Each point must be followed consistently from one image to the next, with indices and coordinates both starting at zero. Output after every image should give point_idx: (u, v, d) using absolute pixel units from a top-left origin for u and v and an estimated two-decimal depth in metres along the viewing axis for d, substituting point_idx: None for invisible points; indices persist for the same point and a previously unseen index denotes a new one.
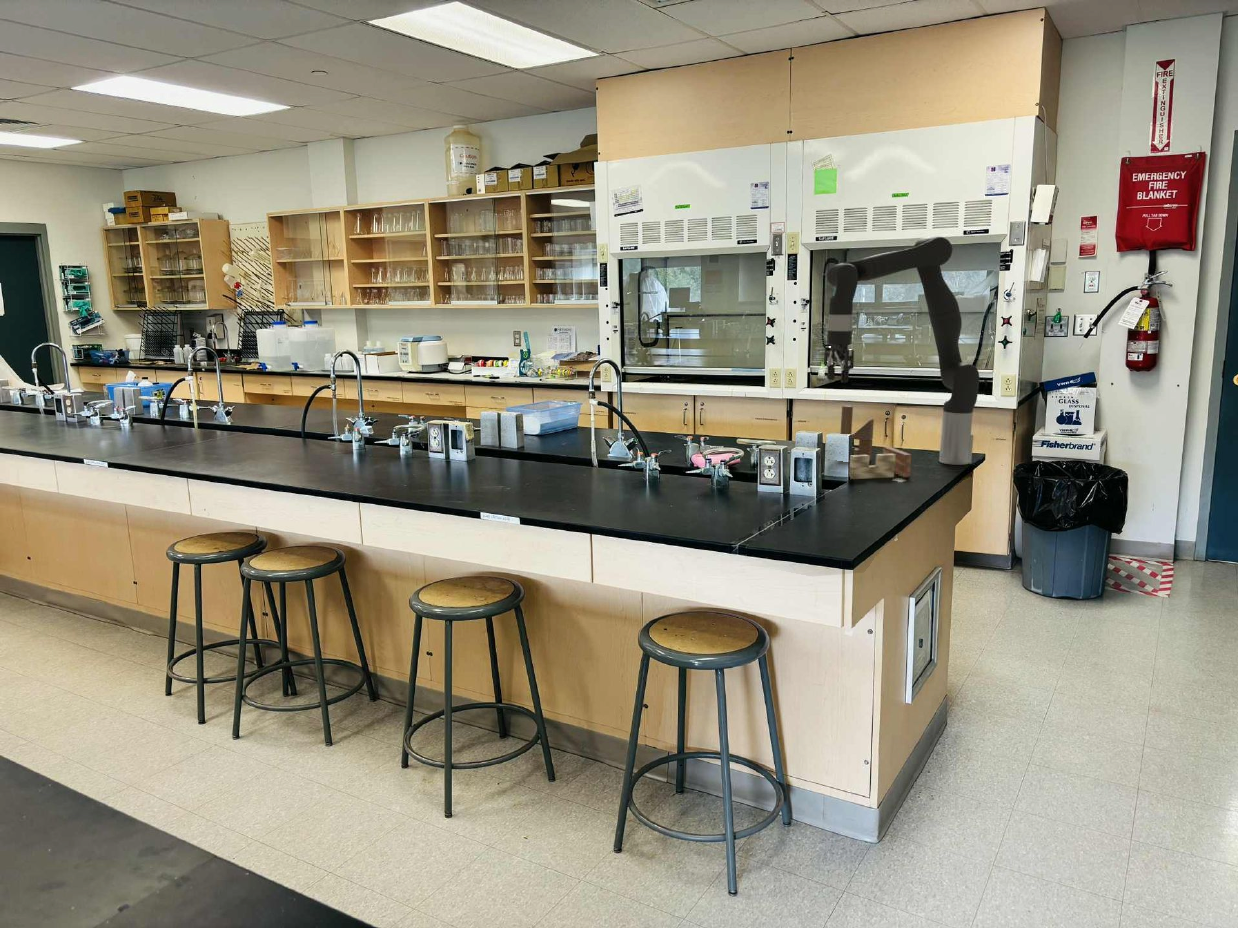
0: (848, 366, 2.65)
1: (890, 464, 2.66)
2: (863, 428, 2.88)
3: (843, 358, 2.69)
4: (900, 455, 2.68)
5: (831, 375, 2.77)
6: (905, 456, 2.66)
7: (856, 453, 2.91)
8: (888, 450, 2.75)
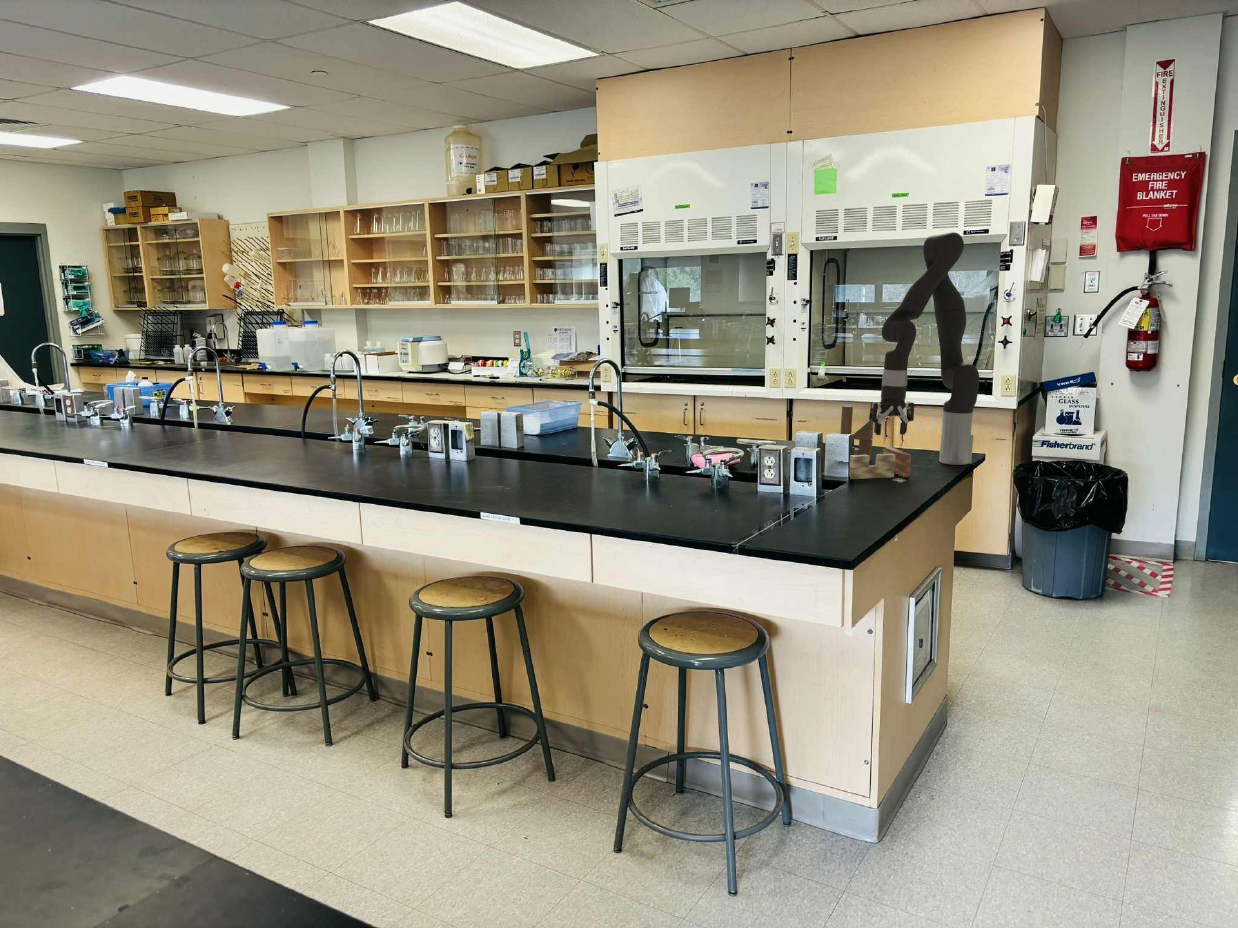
0: None
1: (890, 464, 2.66)
2: (863, 428, 2.88)
3: None
4: (900, 455, 2.68)
5: None
6: (905, 456, 2.66)
7: (856, 453, 2.91)
8: (888, 450, 2.75)
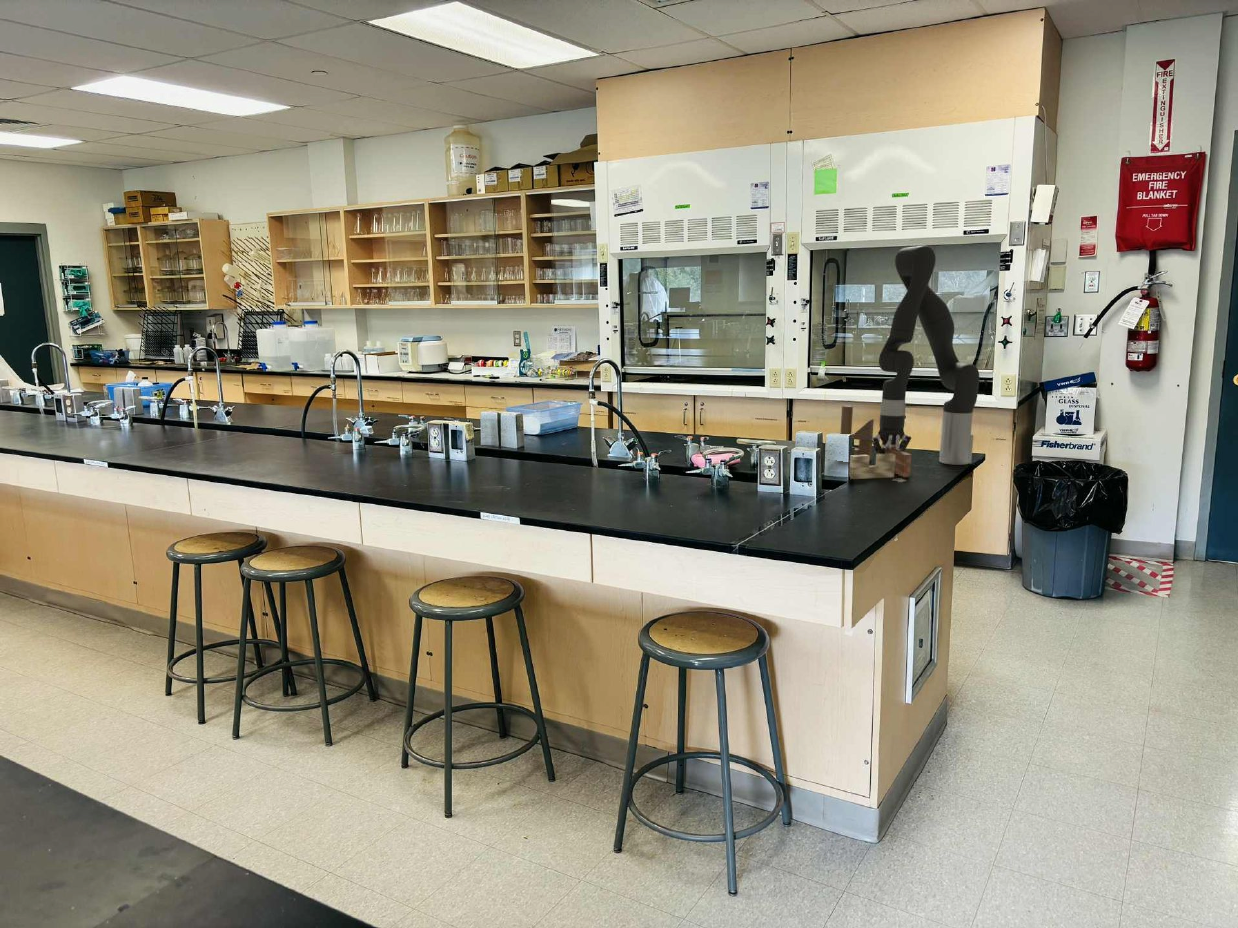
0: None
1: (890, 464, 2.66)
2: (863, 428, 2.88)
3: None
4: (900, 455, 2.68)
5: None
6: (905, 456, 2.66)
7: (856, 453, 2.91)
8: None
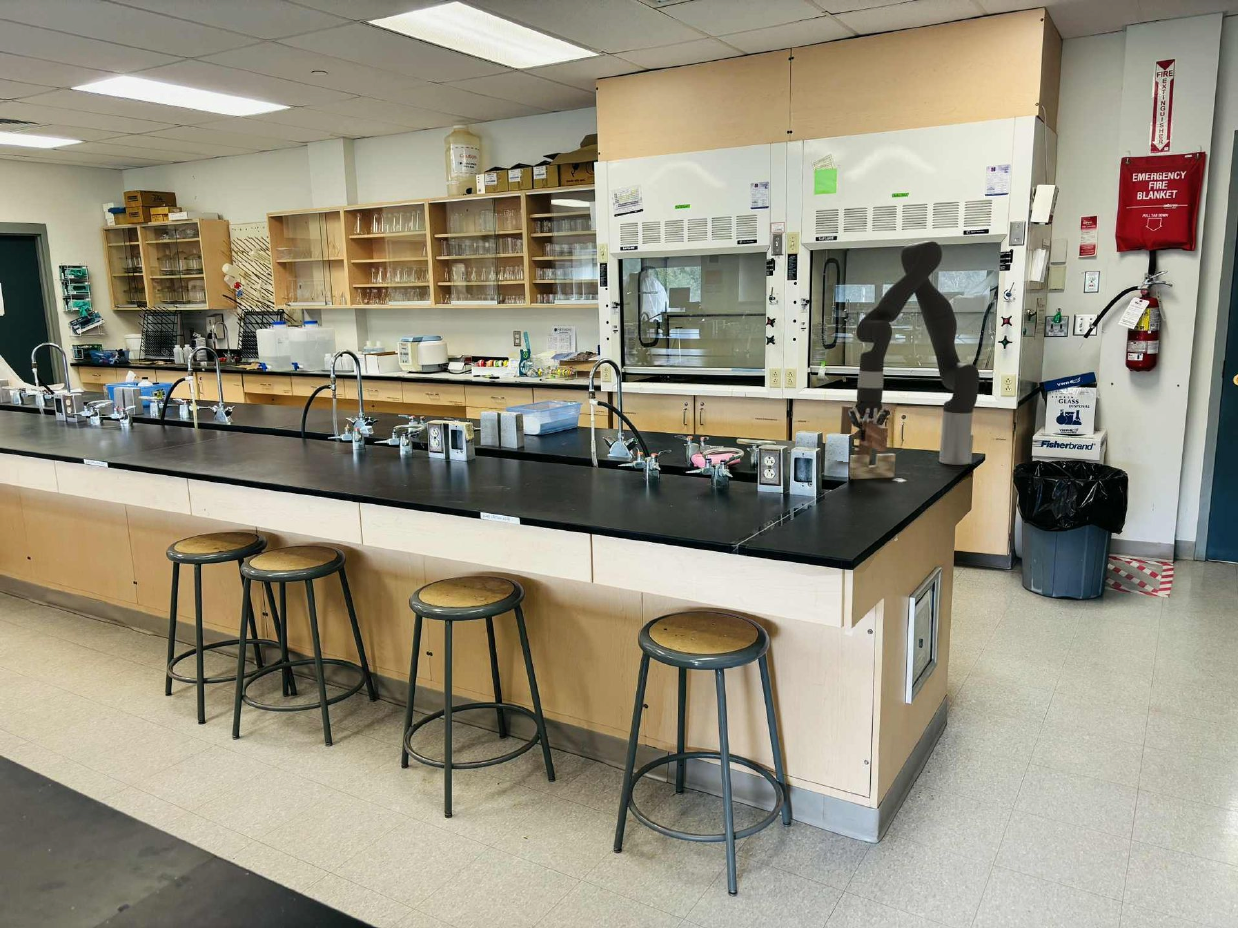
0: None
1: (890, 464, 2.66)
2: None
3: None
4: (877, 429, 2.59)
5: None
6: (882, 429, 2.57)
7: (856, 453, 2.91)
8: None
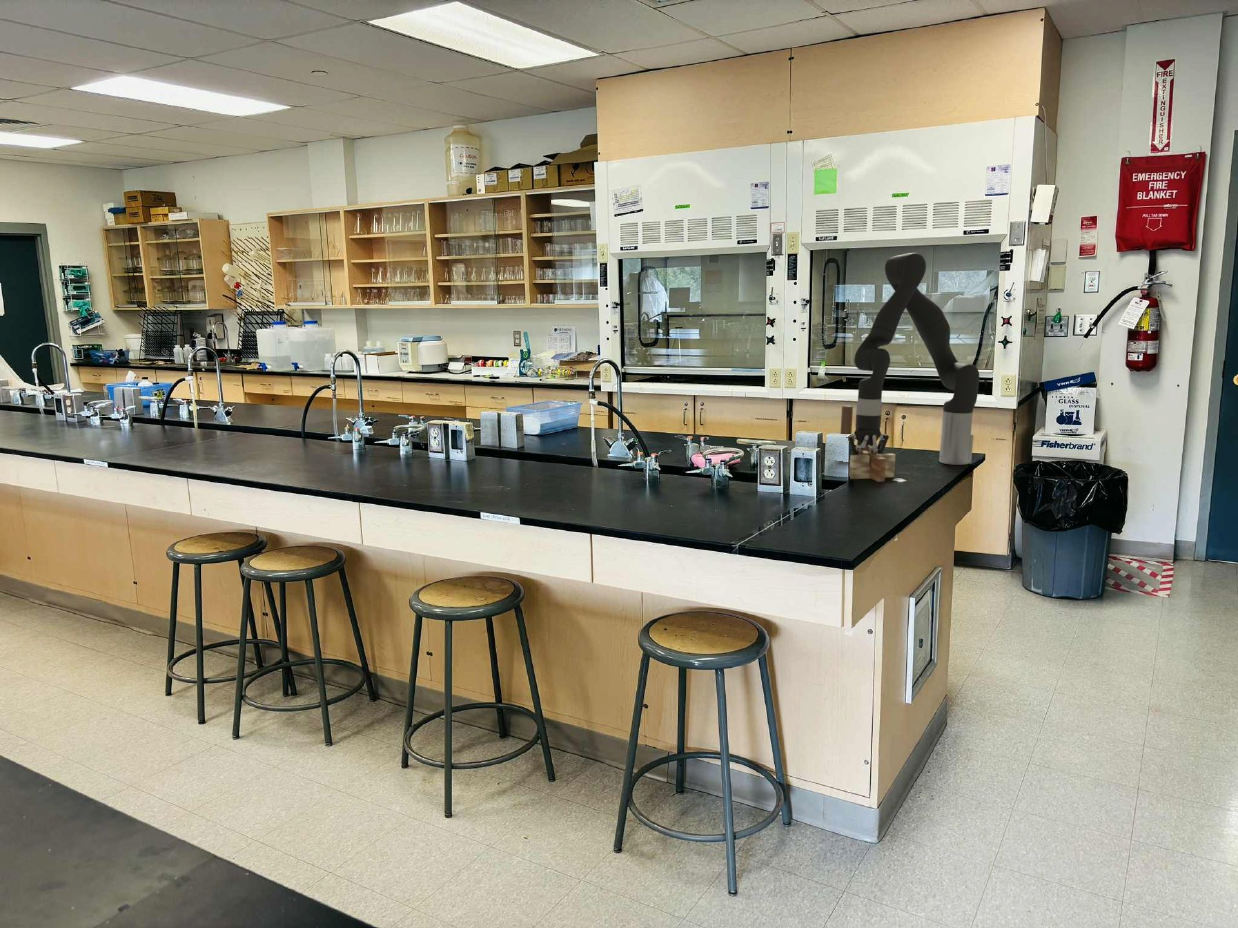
0: None
1: (890, 464, 2.66)
2: None
3: None
4: (875, 459, 2.62)
5: None
6: (880, 460, 2.59)
7: None
8: (863, 454, 2.69)
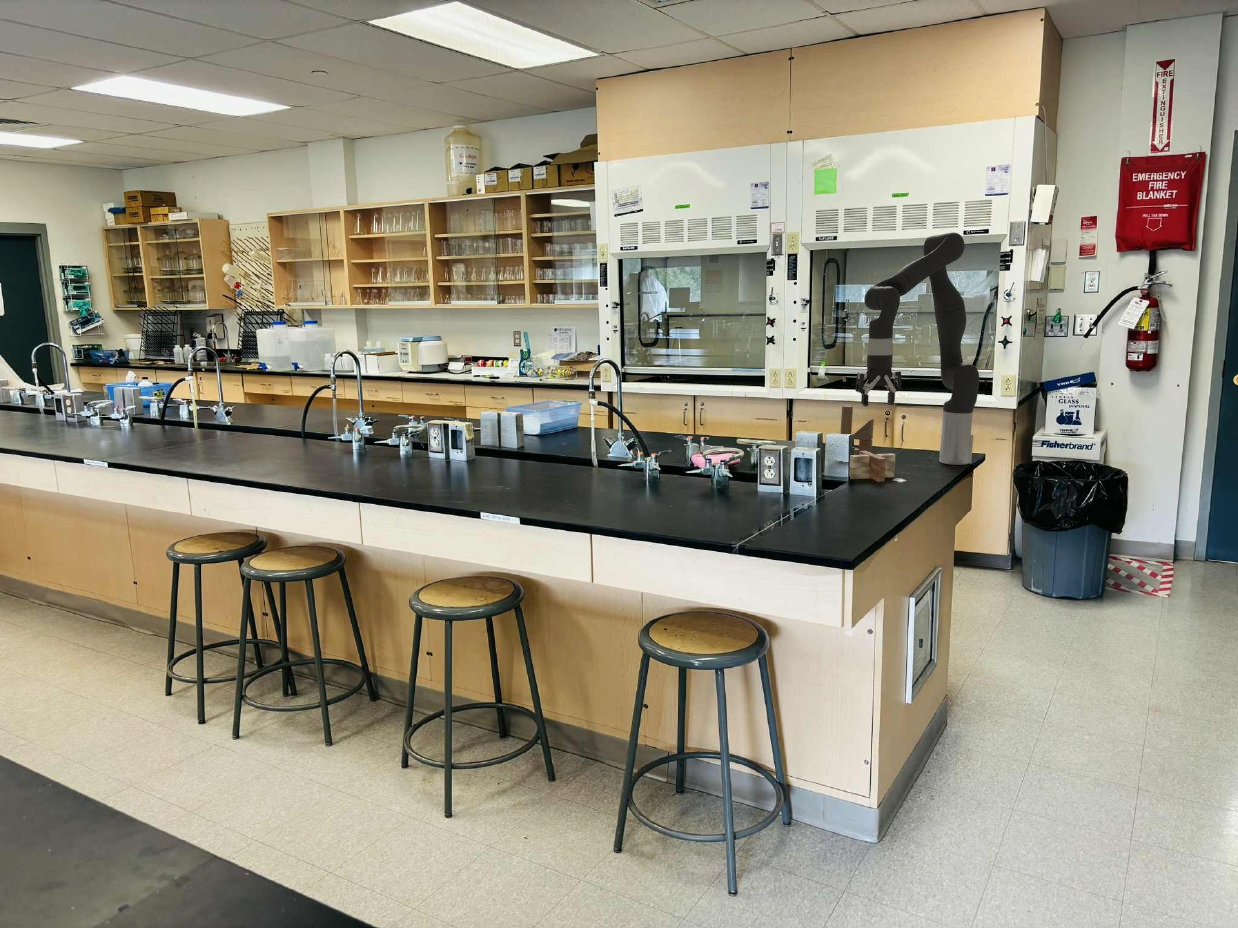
0: None
1: (890, 464, 2.66)
2: (863, 428, 2.88)
3: None
4: (875, 460, 2.62)
5: None
6: (880, 460, 2.59)
7: (856, 453, 2.91)
8: (863, 454, 2.69)
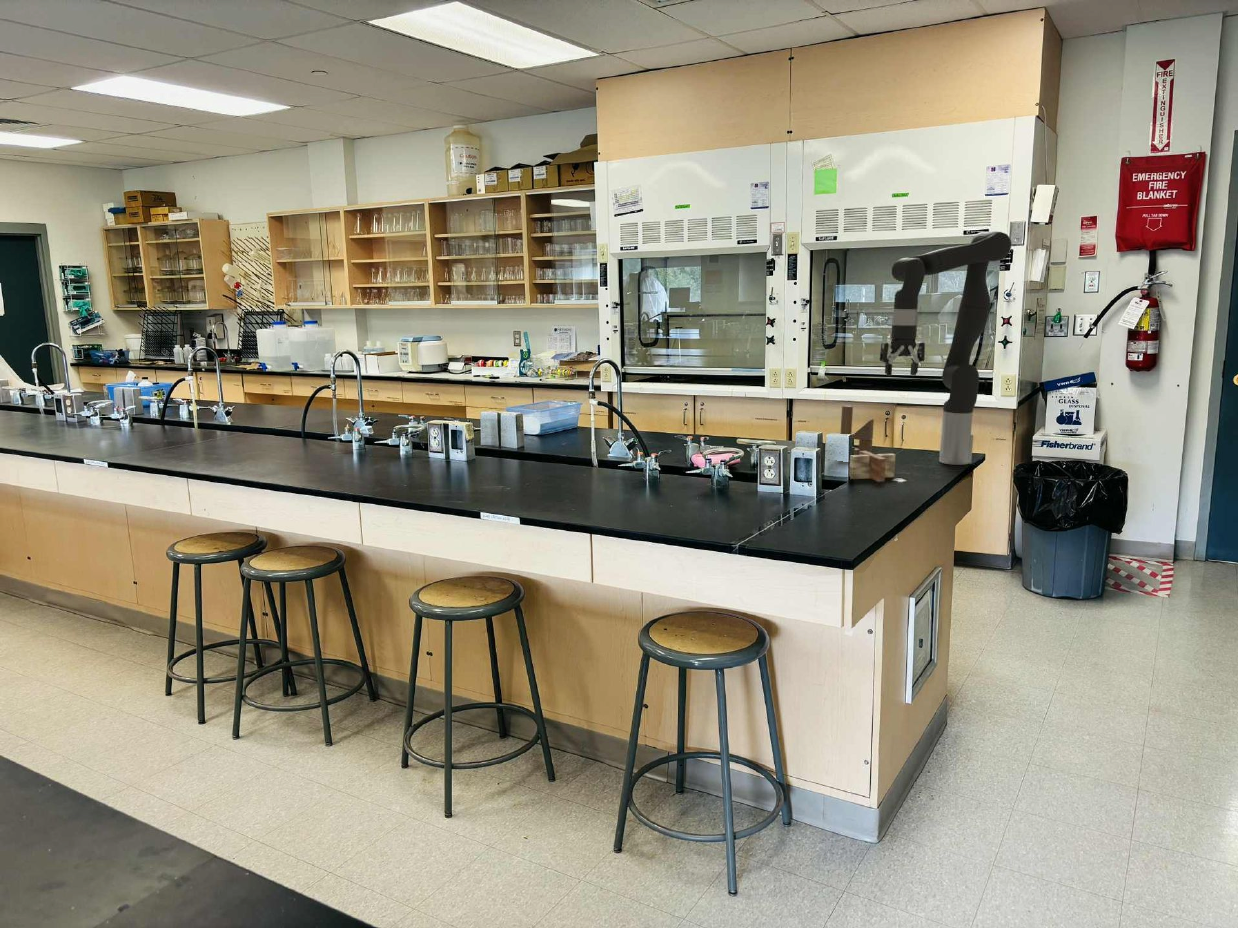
0: None
1: (890, 464, 2.66)
2: (863, 428, 2.88)
3: None
4: (875, 460, 2.62)
5: None
6: (880, 460, 2.59)
7: (856, 453, 2.91)
8: (863, 454, 2.68)
